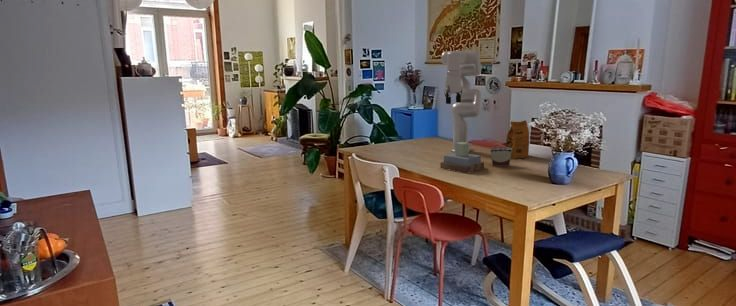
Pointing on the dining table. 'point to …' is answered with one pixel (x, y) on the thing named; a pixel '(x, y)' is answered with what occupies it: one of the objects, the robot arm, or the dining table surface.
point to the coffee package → (518, 139)
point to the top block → (462, 159)
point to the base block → (462, 167)
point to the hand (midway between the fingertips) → (453, 102)
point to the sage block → (462, 149)
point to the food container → (501, 156)
